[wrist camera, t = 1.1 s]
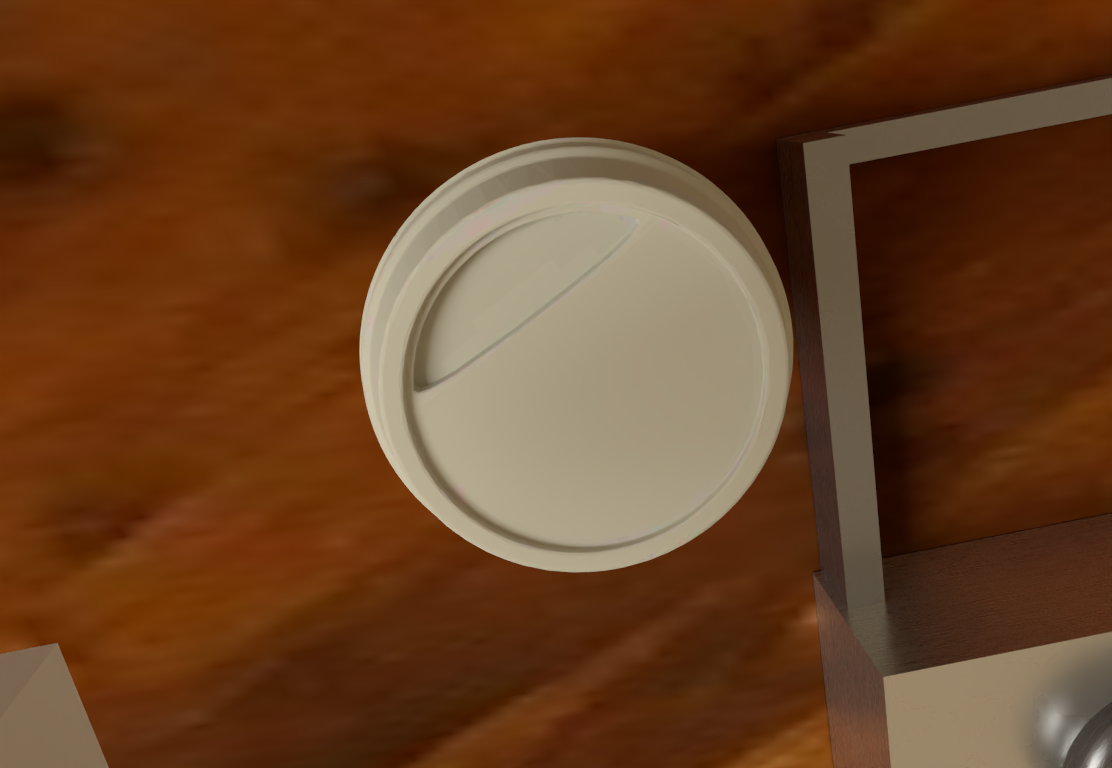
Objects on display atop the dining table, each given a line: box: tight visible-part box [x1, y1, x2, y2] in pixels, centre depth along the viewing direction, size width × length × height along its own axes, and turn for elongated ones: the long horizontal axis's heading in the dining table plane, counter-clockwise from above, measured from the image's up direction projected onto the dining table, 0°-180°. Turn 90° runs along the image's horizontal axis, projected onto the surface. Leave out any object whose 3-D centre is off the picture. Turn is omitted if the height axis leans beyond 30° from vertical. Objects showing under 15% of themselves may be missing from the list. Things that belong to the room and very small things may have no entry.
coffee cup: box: [360, 138, 793, 572], centre depth 23 cm, size 8×8×12 cm
